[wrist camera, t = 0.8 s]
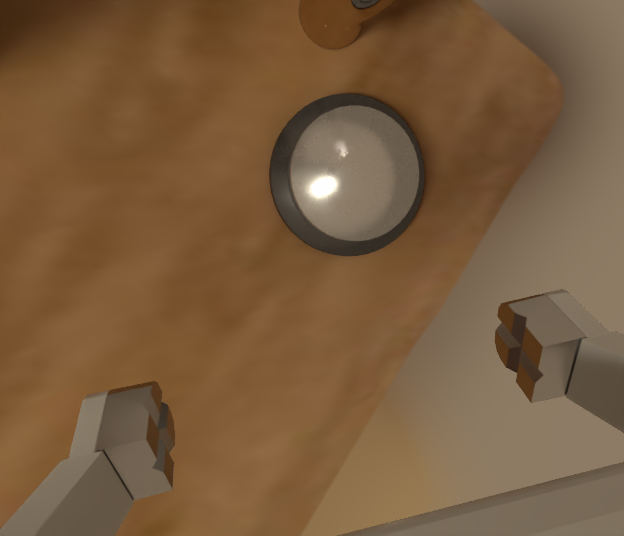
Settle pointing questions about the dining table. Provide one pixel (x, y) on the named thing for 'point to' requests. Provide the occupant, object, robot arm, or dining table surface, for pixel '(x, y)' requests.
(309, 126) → the disc
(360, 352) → the dining table surface
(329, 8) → the beer glass
